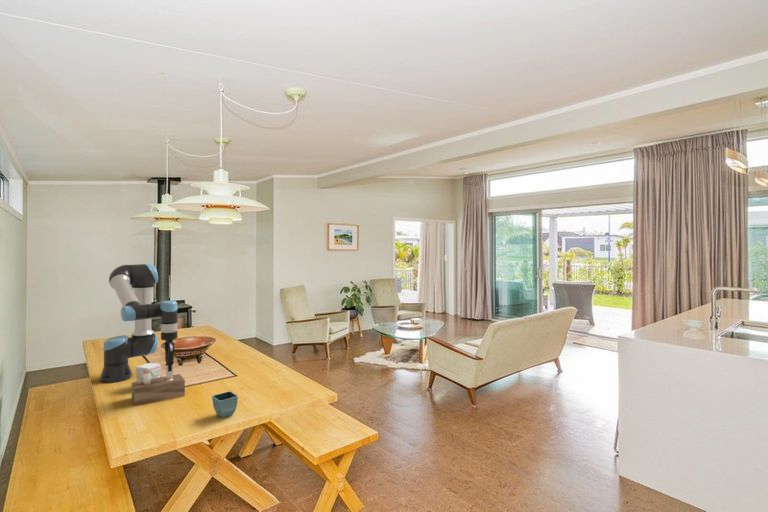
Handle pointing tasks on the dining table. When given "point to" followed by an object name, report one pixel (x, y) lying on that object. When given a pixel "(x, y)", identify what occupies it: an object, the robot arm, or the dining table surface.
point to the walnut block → (158, 390)
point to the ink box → (152, 367)
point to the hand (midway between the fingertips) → (169, 376)
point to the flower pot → (225, 403)
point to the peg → (146, 377)
